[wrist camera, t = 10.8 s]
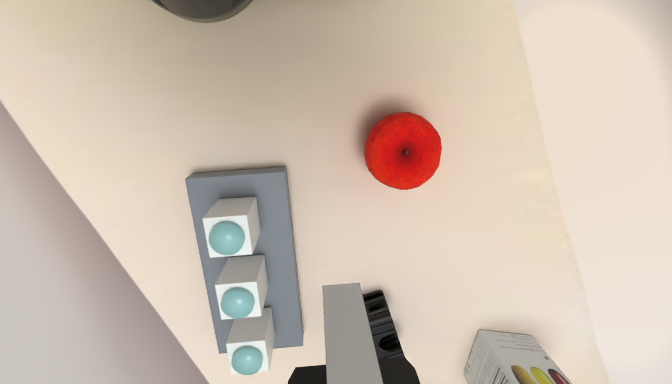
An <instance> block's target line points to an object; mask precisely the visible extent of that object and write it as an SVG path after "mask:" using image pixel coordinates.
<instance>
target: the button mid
mask: <svg viewBox="0 0 672 384" xmlns="http://www.w3.org/2000/svg"><path fill="white" fill-rule="evenodd" d="M215 288H216V294H217V299H218V304H219V310H220V315H221V320H224V319H241V318H247V317H258V316H262V311H263V307H264V302H265V298H266V293H267V289H268V281H267V273H266V266H265V258H264V255H256V256H244V257H232V258H228V259H227V261H226V263H225V265H224V268H223V270H222V272H221V274H220V276H219V278H218V280H217V282H216V284H215Z"/></svg>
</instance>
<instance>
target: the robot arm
mask: <svg viewBox="0 0 672 384" xmlns="http://www.w3.org/2000/svg"><path fill="white" fill-rule="evenodd" d="M152 1H153V2H154V3H156V4H157V5H158V6H160V7H161V8H163V9H165V10H167V11H168V12H170V13H172V14H174V15H176V16H178V17H181V18H184V19H187V20H190V21H195V22H217V21H221V20H225V19H228V18H230V17H232V16H234V15H236V14H238V13H239V12H240V11H242V10H243V9H244V8H245V7H247V6H248V5H249V4H250V2H251V1H252V0H152ZM322 287H323V308H324V329H325V350H326V365H317V366H306V367H296V368H295V370H294V372H293V373H292V375H291V377H290V379H289V381H288V384H420V381H419V379H418V376H417V373H416V370H415V368H414V367H413V366H412V365H411V364H410V363H409V362H408V360H407V359H406V358H405V357H396V358H384V359H377V355H376V351H375V347H374V343H373V338H372V334H371V330H370V326H369V321H368V317H367V313H366V309H365V304H364V300H363V296H362V292H361V287H360V283H352V284H339V285H326V286H322Z"/></svg>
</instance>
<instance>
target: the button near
mask: <svg viewBox="0 0 672 384" xmlns="http://www.w3.org/2000/svg"><path fill="white" fill-rule="evenodd" d="M202 219H203V224H204V230H205V235H206V240H207V246H208V251H209V256H210V258H213V257H225V256H238V255H250V254H253V251H254V248H255V246H256V243H257V240H258V237H259V234H260V232H261V228H260V221H259V213H258V206H257V198H256V196H255V197H241V198H228V199H218V200H217V202H216V203H215V204H214V205H213V206H212V208H211V209H210V210H209V211H208V212H207V214H206V215H205V216H204V217H203V218H202Z"/></svg>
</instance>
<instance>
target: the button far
mask: <svg viewBox="0 0 672 384" xmlns="http://www.w3.org/2000/svg"><path fill="white" fill-rule="evenodd" d="M274 337H275V333H274V325H273V318H272V310H271V307H270V308H263V311H262V316H258V317H247V318H241V319H234V321H233V324H232V327H231V330H230V333H229V336H228V339H227V342H226V347H227V353H228V358H229V363H230V369H231V374H232V375H235V374H243V375H251V374H254V373H256V372H266V371H269V370H270V364H271V357H272V350H273V344H274Z"/></svg>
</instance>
